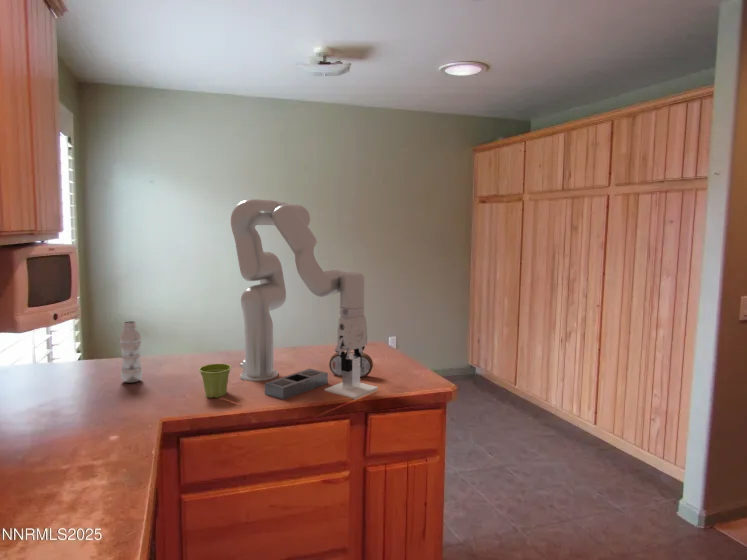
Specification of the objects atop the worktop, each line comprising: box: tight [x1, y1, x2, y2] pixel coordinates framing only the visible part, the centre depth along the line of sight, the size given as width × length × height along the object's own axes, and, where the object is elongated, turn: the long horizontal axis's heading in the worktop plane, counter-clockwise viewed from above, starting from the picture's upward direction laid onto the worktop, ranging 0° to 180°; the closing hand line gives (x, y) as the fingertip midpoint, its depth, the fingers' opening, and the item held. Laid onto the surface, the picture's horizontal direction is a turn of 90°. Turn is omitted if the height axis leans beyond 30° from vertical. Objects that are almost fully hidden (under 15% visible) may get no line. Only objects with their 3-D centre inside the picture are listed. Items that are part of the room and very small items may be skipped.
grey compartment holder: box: [264, 368, 329, 401], centre depth 170 cm, size 8×20×4 cm, turn 143°
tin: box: [328, 351, 374, 378], centre depth 185 cm, size 15×3×8 cm, turn 84°
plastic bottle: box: [119, 320, 143, 384], centre depth 175 cm, size 6×7×20 cm
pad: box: [324, 382, 379, 401], centre depth 170 cm, size 12×12×1 cm
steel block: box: [341, 355, 361, 391], centre depth 169 cm, size 4×4×10 cm
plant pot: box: [198, 363, 232, 399], centre depth 164 cm, size 9×9×9 cm
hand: (351, 368), depth 169 cm, fingers open, 5 cm apart
